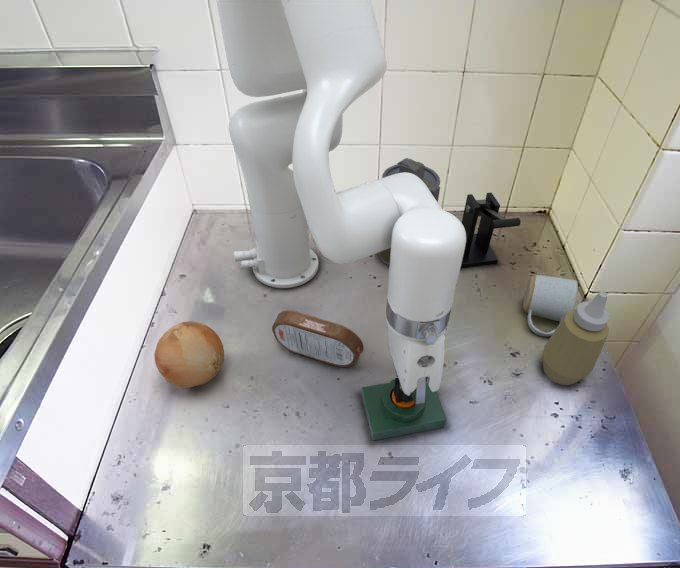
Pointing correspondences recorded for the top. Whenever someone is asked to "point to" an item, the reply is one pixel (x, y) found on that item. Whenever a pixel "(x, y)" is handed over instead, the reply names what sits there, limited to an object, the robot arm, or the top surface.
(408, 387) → the robot arm
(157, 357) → the onion
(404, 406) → the button
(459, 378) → the top surface
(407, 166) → the canister
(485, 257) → the bracket
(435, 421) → the button box
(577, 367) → the squeeze bottle
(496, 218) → the lever
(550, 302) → the ceramic mug
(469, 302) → the top surface
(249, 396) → the top surface
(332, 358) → the tin
